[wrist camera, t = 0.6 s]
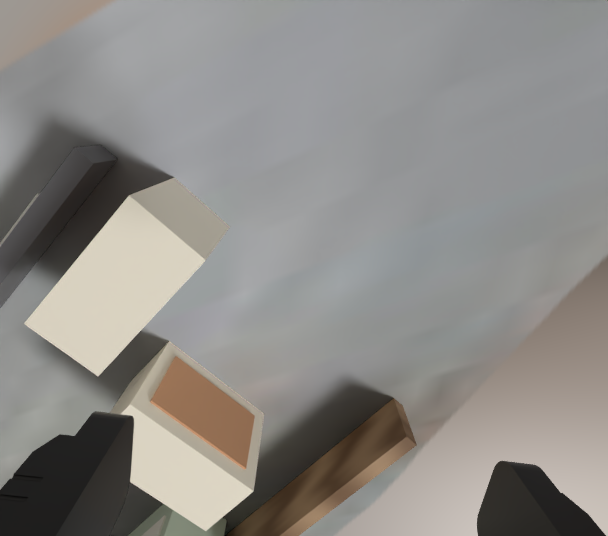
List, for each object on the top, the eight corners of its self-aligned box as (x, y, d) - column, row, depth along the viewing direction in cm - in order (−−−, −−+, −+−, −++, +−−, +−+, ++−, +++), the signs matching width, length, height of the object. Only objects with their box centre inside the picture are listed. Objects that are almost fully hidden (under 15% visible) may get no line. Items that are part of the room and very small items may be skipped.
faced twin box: (89, 274, 27) (21, 321, 21) (172, 175, 25) (126, 192, 19) (146, 318, 28) (98, 376, 22) (230, 226, 26) (205, 260, 20)
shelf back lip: (393, 398, 30) (406, 436, 27) (402, 405, 31) (416, 445, 27) (177, 574, 37) (162, 626, 33) (186, 580, 37) (172, 632, 33)
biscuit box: (171, 339, 29) (131, 402, 22) (265, 411, 31) (255, 489, 24) (131, 379, 30) (83, 451, 23) (225, 447, 32) (205, 531, 25)
